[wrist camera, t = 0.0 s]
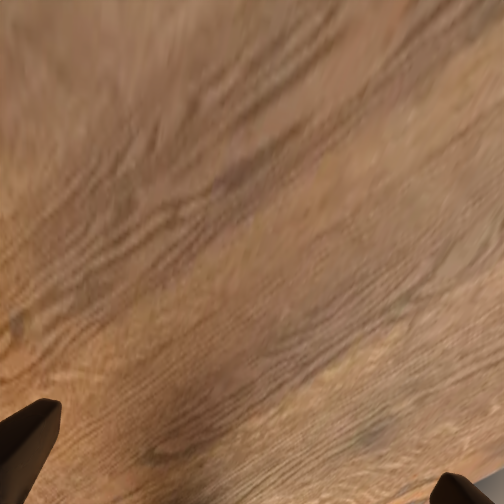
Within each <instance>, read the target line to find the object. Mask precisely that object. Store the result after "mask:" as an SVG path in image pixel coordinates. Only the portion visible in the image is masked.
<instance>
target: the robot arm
mask: <svg viewBox="0 0 504 504" xmlns="http://www.w3.org/2000/svg"><path fill="white" fill-rule="evenodd" d="M61 409H62V405H61V402H60V401H57V400H51V399H46V398H42V399H39V400H37V401H35V402H33V403H32V404H30V405H28V406H26V407H25V408H23V409H21V410H20V411H18V412H16V413H15V414H13V415H11V416H10V417H8V418H6V419H5V420H3V421H1V422H0V504H23V503H24V502H25V500H26V498H27V496H28V494H29V492H30V490H31V488H32V486H33V484H34V482H35V480H36V479H37V477H38V475H39V473H40V471H41V469H42V467H43V465H44V463H45V461H46V459H47V457H48V455H49V454H50V452H51V450H52V448H53V446H54V444H55V442H56V440H57V437H58V434H59V430H60V420H61ZM430 504H495V503H493V502H492V501H491V500H490V499H489V498H488V497H487V496H486V495H484V494H483V493H482V492H481V491H480V490H479V489H478V488H477V487H475V486H474V485H473V484H472V483H471V482H470V481H469V480H468V479H467V478H465V477H464V476H462V475H459V474H454V473H449V472H446V473H443V474H442V476H441V477H440V479H439V481H438V482H437V484H436V486H435V487H434V489H433V491H432V493H431V495H430Z"/></svg>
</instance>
